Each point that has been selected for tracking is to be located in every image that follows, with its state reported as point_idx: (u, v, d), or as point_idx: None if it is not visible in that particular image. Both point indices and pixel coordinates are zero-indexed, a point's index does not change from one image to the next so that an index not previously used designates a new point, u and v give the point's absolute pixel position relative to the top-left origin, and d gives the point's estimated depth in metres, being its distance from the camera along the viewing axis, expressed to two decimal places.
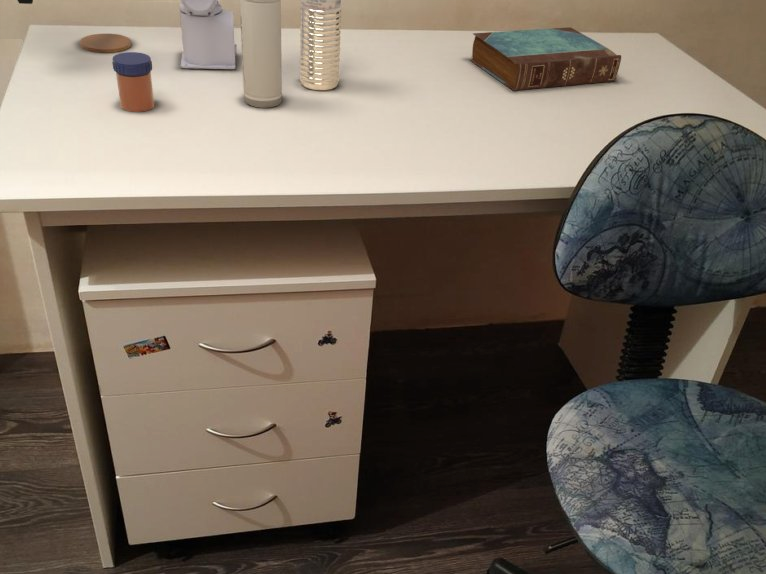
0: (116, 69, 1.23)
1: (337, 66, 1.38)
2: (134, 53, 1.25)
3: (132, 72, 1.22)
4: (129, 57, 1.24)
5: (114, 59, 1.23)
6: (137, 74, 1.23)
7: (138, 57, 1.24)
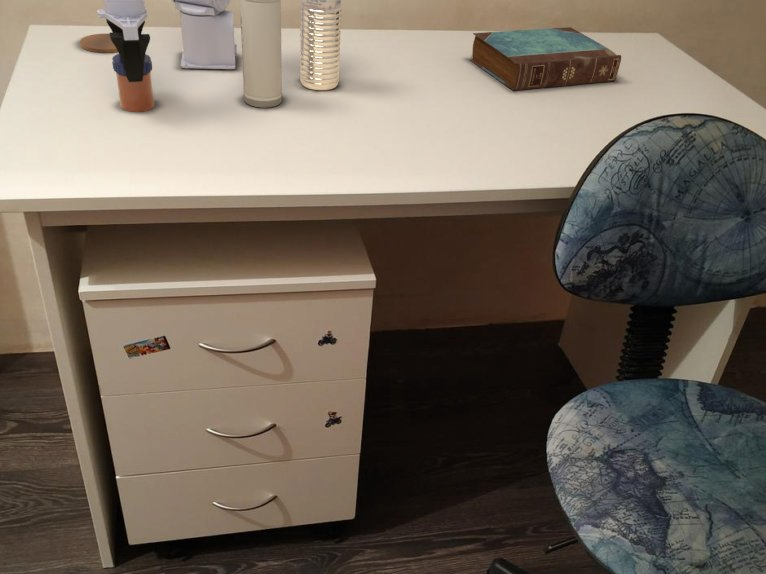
0: (116, 69, 1.23)
1: (337, 66, 1.38)
2: None
3: None
4: None
5: (114, 59, 1.23)
6: None
7: None
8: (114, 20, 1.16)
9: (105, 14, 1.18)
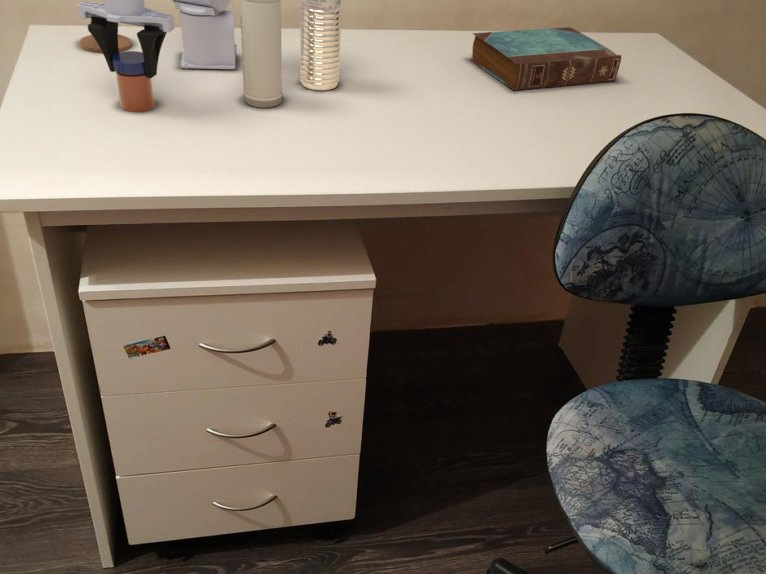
0: (132, 71, 1.22)
1: (337, 66, 1.38)
2: (120, 53, 1.24)
3: None
4: (128, 57, 1.23)
5: (125, 62, 1.21)
6: None
7: (133, 54, 1.24)
8: (142, 18, 1.17)
9: (122, 17, 1.17)
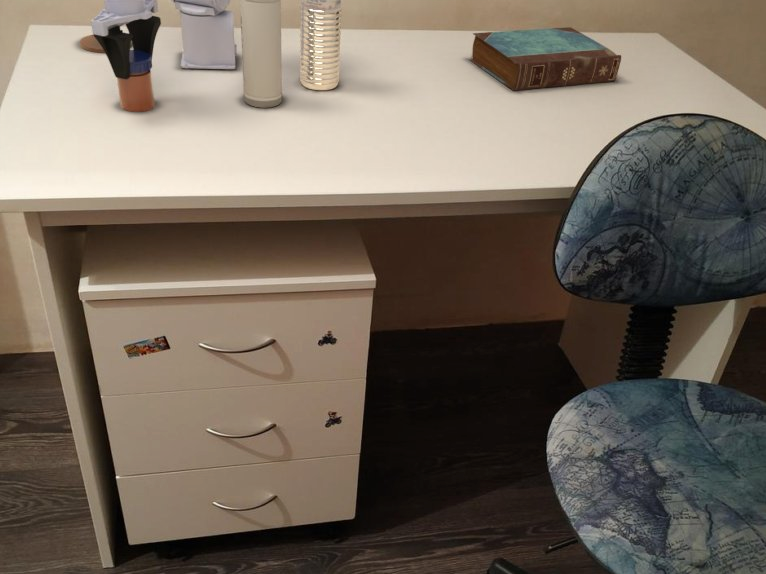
0: (151, 64, 1.25)
1: (337, 66, 1.38)
2: None
3: None
4: (131, 56, 1.23)
5: (147, 58, 1.23)
6: None
7: None
8: (150, 6, 1.21)
9: (147, 11, 1.19)
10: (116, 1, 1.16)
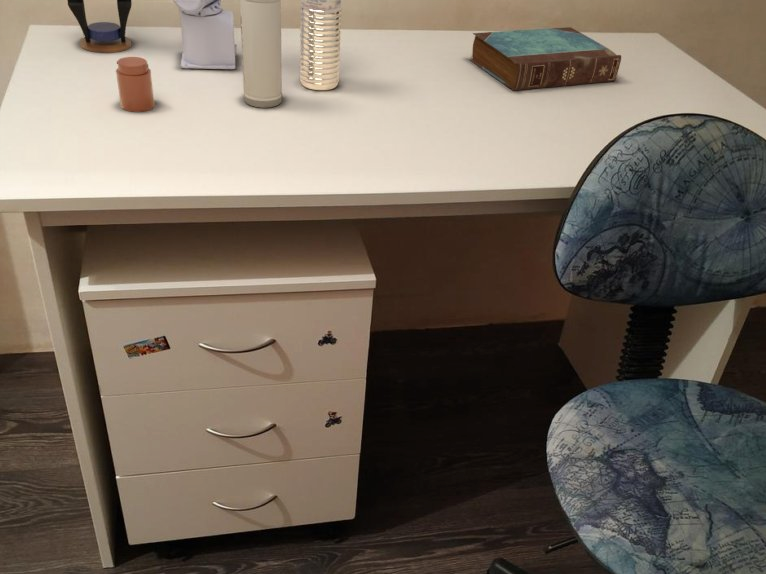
0: (112, 37, 1.46)
1: (337, 66, 1.38)
2: (91, 25, 1.47)
3: (120, 33, 1.48)
4: (101, 27, 1.46)
5: (105, 31, 1.45)
6: None
7: (102, 24, 1.47)
8: None
9: None
10: None
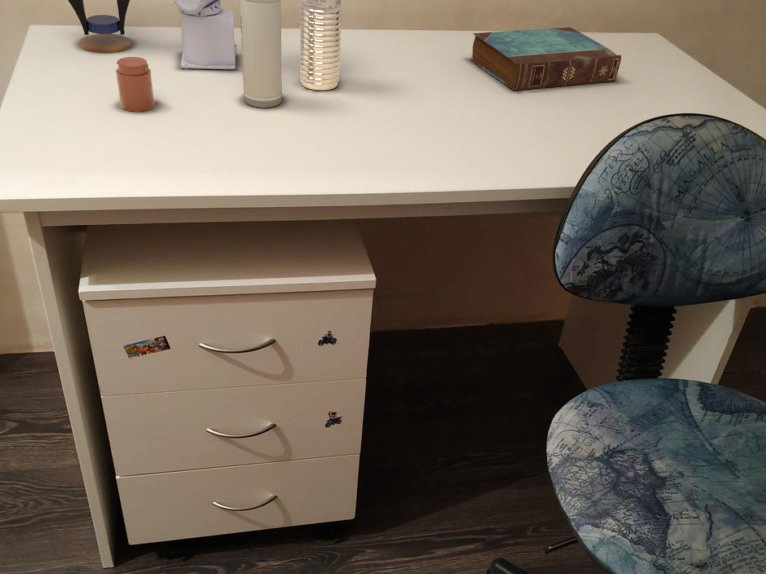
0: (111, 30, 1.45)
1: (337, 66, 1.38)
2: (90, 18, 1.46)
3: (119, 26, 1.47)
4: (100, 19, 1.46)
5: (104, 23, 1.44)
6: None
7: (101, 17, 1.47)
8: None
9: None
10: None
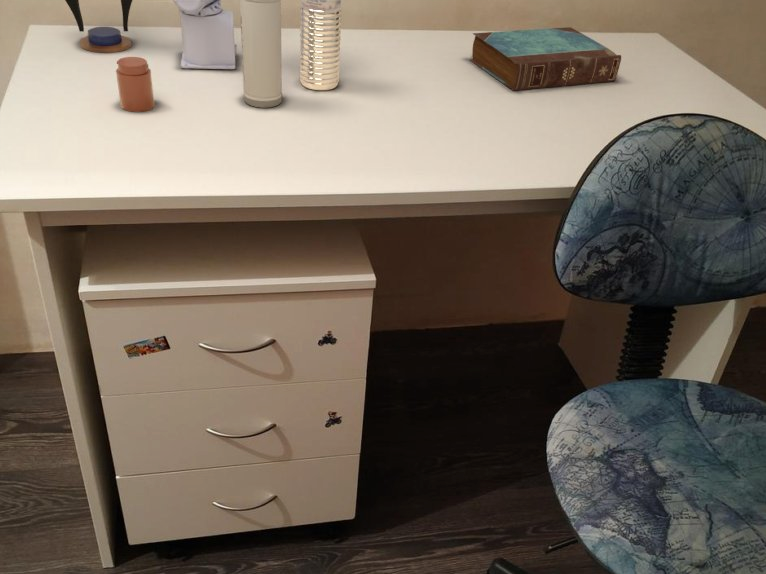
0: (112, 42, 1.46)
1: (337, 66, 1.38)
2: (92, 30, 1.47)
3: (121, 38, 1.48)
4: (102, 31, 1.47)
5: (105, 35, 1.45)
6: None
7: (102, 29, 1.48)
8: None
9: None
10: None
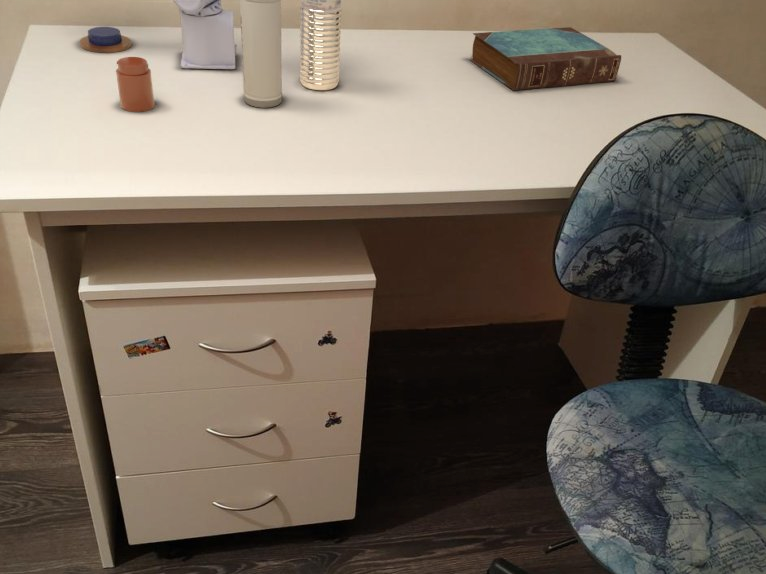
0: (112, 42, 1.46)
1: (337, 66, 1.38)
2: (92, 30, 1.47)
3: (121, 38, 1.48)
4: (102, 31, 1.47)
5: (105, 35, 1.45)
6: None
7: (102, 29, 1.48)
8: None
9: None
10: None
